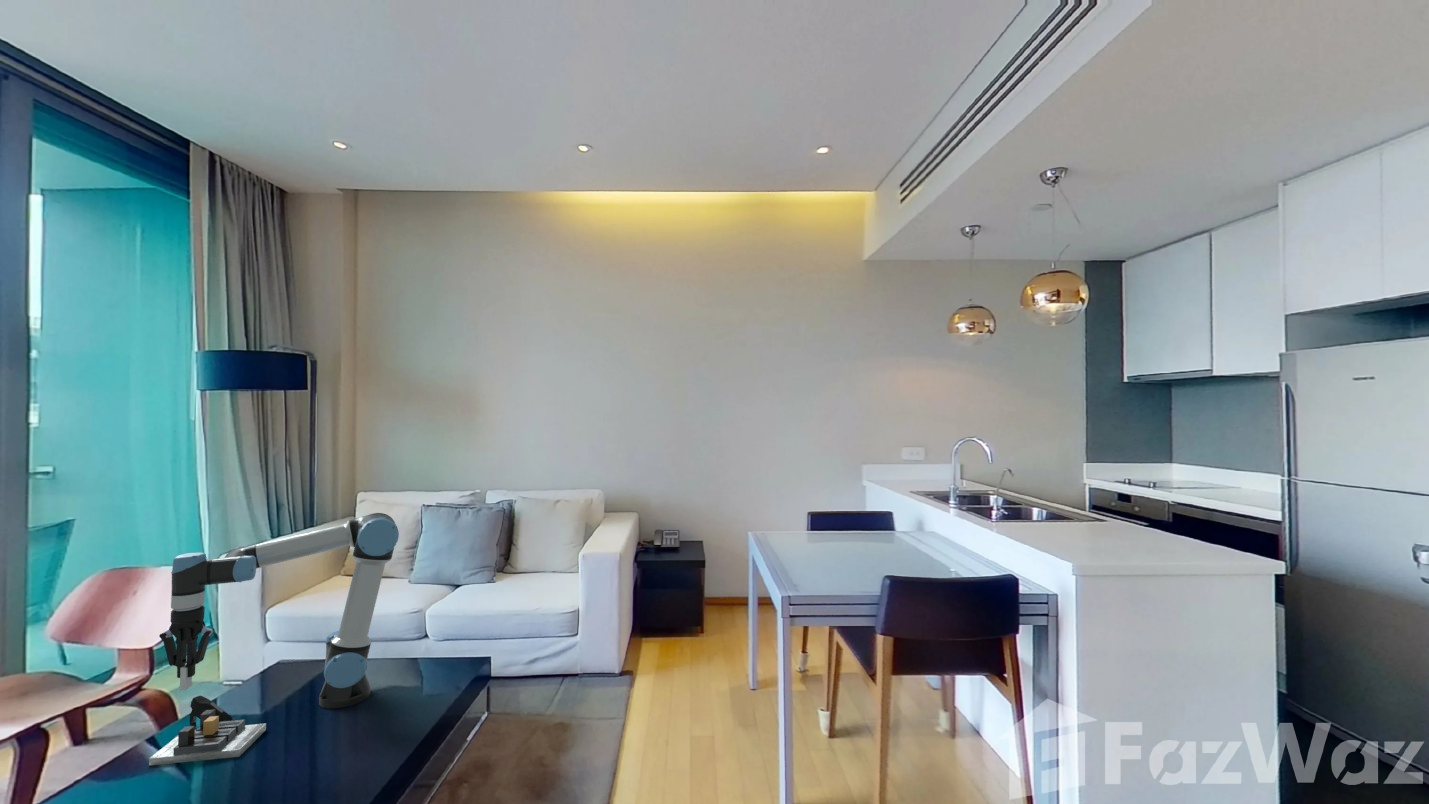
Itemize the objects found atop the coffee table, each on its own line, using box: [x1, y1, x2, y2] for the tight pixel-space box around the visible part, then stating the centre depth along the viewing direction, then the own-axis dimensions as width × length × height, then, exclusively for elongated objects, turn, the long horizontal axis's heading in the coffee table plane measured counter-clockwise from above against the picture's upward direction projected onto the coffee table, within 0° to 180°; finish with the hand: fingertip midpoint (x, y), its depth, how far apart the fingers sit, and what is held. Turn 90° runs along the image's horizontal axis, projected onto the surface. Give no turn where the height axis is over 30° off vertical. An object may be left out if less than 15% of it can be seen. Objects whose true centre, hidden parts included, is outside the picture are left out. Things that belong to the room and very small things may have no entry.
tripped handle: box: [203, 716, 219, 735], centre depth 179 cm, size 2×3×4 cm
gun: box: [189, 695, 234, 726], centre depth 190 cm, size 3×16×10 cm, turn 78°
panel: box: [148, 709, 267, 766], centre depth 179 cm, size 22×15×8 cm
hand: (185, 688), depth 178 cm, fingers closed
